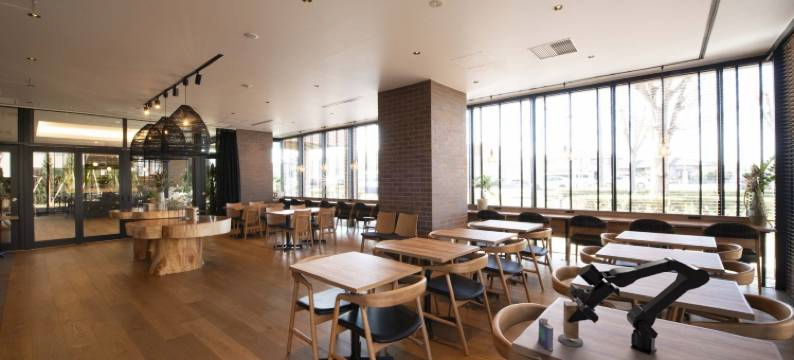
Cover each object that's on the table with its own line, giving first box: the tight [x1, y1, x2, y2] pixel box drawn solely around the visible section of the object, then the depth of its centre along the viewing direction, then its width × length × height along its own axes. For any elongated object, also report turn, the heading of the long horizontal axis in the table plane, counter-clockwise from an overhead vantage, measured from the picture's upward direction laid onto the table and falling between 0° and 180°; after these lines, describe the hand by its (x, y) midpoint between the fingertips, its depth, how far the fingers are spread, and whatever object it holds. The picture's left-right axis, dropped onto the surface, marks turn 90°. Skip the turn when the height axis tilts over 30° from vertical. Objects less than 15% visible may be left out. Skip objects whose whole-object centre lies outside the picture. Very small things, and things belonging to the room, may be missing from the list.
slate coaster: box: [557, 333, 584, 348], centre depth 139 cm, size 9×9×1 cm
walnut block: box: [562, 300, 580, 339], centre depth 139 cm, size 4×4×13 cm
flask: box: [538, 317, 554, 352], centre depth 136 cm, size 9×3×11 cm, turn 2°
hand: (567, 319), depth 139 cm, fingers closed on walnut block, 4 cm apart
